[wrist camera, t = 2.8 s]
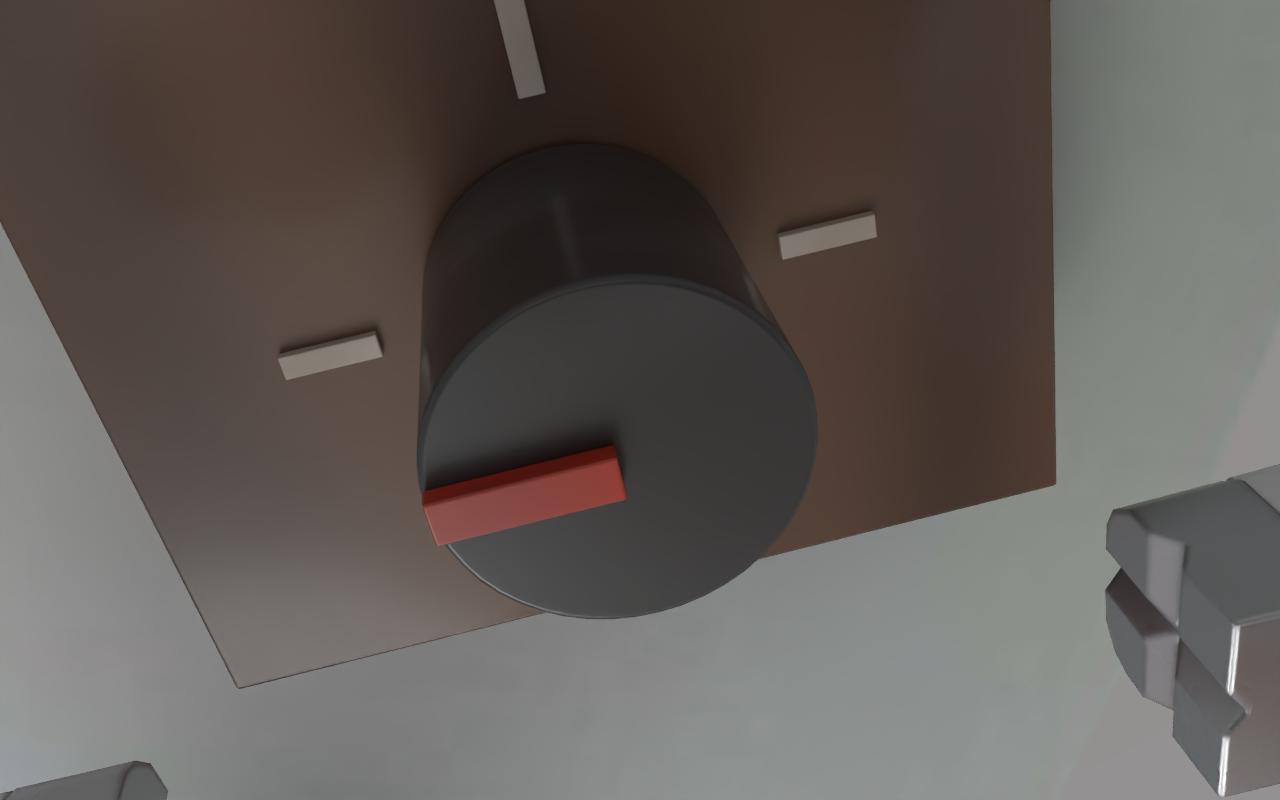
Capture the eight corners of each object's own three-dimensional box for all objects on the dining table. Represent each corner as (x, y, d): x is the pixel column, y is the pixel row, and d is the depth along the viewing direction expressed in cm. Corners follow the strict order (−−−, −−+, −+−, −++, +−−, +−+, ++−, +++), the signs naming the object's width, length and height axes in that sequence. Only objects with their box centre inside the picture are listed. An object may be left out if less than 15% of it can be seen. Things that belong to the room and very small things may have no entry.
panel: (954, -254, 17) (1055, -253, 14) (986, 398, 22) (1062, 491, 19) (-21, -30, 16) (-114, 16, 13) (261, 578, 22) (235, 698, 19)
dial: (705, 107, 16) (802, 240, 11) (752, 388, 18) (847, 585, 14) (381, 185, 15) (358, 347, 11) (469, 458, 18) (478, 679, 13)
